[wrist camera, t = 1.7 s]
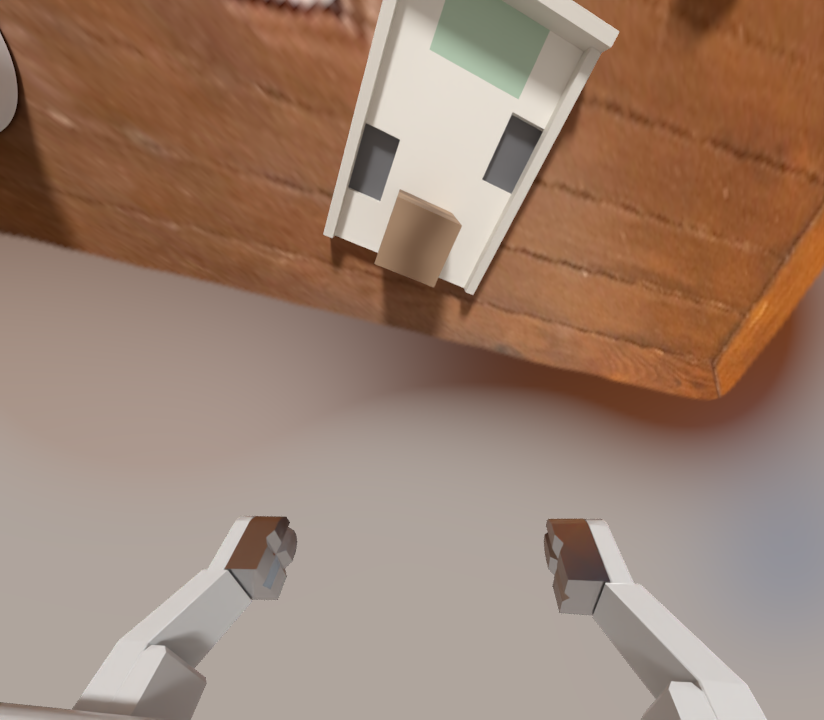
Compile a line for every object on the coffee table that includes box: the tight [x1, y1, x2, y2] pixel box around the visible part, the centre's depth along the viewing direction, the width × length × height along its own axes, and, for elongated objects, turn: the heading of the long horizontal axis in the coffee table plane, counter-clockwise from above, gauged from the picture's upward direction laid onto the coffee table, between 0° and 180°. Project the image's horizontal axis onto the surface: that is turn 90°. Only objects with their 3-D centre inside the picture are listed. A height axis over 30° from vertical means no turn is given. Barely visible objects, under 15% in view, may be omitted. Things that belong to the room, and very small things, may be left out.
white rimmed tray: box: [323, 0, 619, 295], centre depth 32 cm, size 18×24×4 cm
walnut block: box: [374, 189, 462, 288], centre depth 33 cm, size 6×6×8 cm
